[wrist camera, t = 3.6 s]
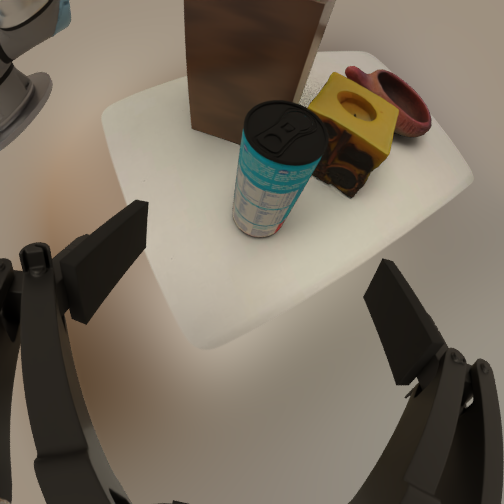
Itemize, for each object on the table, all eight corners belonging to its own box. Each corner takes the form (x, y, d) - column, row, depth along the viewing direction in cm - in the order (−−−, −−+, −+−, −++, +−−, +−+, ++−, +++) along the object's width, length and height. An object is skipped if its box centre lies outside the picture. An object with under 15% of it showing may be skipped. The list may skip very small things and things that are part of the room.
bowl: (391, 95, 42) (409, 69, 35) (427, 145, 39) (451, 120, 32) (328, 94, 39) (344, 60, 31) (367, 153, 36) (392, 120, 29)
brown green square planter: (191, 128, 34) (183, -21, 13) (222, 88, 37) (233, -38, 16) (274, 158, 34) (325, 4, 13) (295, 112, 37) (340, -14, 16)
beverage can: (293, 221, 32) (345, 142, 17) (253, 249, 30) (283, 178, 16) (262, 184, 32) (290, 91, 18) (221, 209, 31) (225, 117, 17)
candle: (351, 200, 33) (390, 159, 24) (284, 161, 34) (304, 107, 24) (370, 152, 36) (402, 110, 27) (312, 118, 37) (333, 69, 27)
